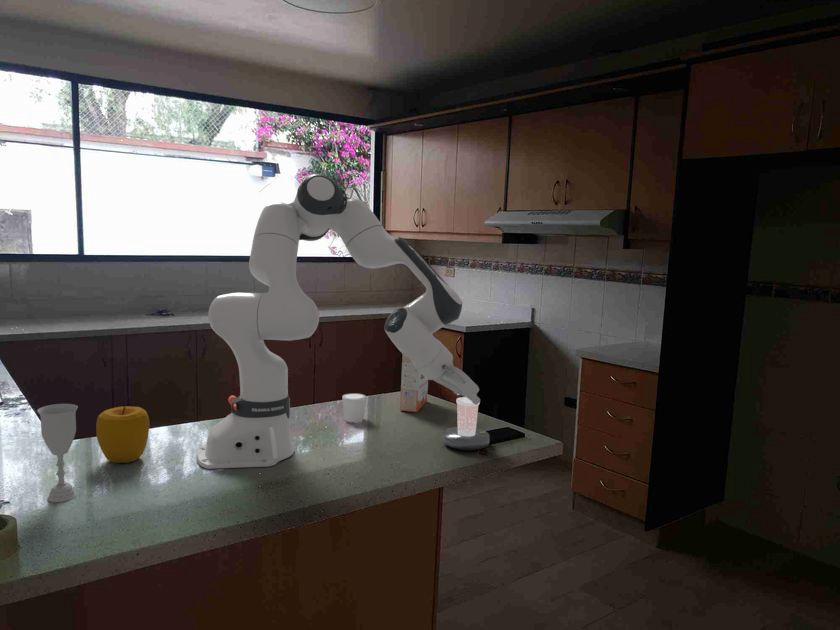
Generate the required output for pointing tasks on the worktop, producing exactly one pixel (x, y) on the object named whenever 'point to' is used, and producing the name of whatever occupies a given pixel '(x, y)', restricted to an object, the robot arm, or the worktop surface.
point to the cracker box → (412, 387)
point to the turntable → (466, 440)
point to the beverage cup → (466, 416)
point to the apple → (123, 433)
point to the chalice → (59, 443)
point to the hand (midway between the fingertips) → (467, 397)
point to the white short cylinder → (354, 407)
